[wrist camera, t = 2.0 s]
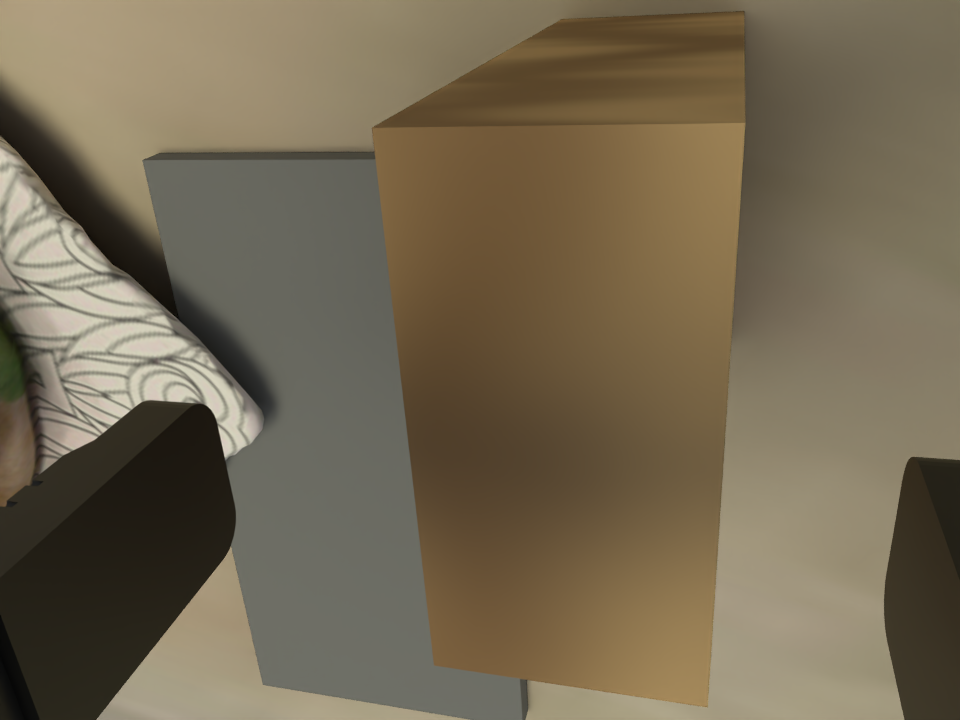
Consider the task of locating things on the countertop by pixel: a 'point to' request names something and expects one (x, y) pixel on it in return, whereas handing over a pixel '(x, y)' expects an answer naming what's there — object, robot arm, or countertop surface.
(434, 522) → the tall wooden block
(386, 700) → the rubber mat
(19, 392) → the cookie jar
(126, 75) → the countertop surface
